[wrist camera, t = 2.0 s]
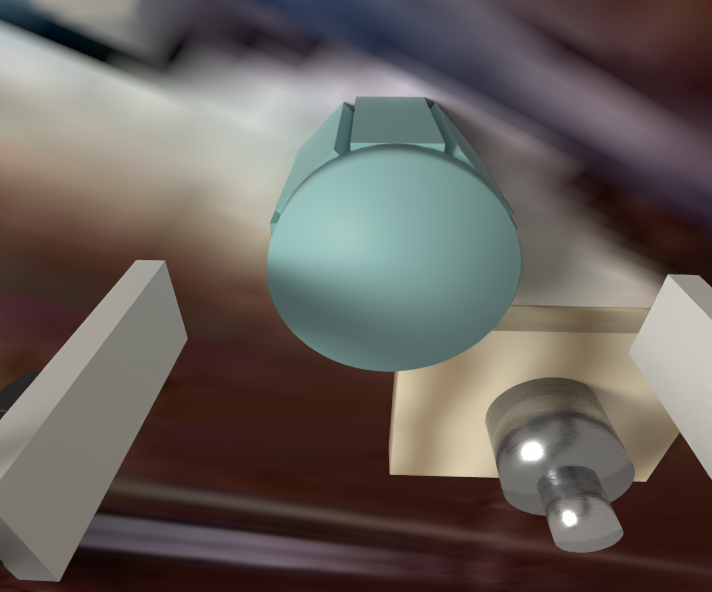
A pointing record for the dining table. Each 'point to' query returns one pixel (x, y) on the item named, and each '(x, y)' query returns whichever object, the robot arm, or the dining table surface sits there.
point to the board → (517, 365)
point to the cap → (391, 239)
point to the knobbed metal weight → (560, 460)
